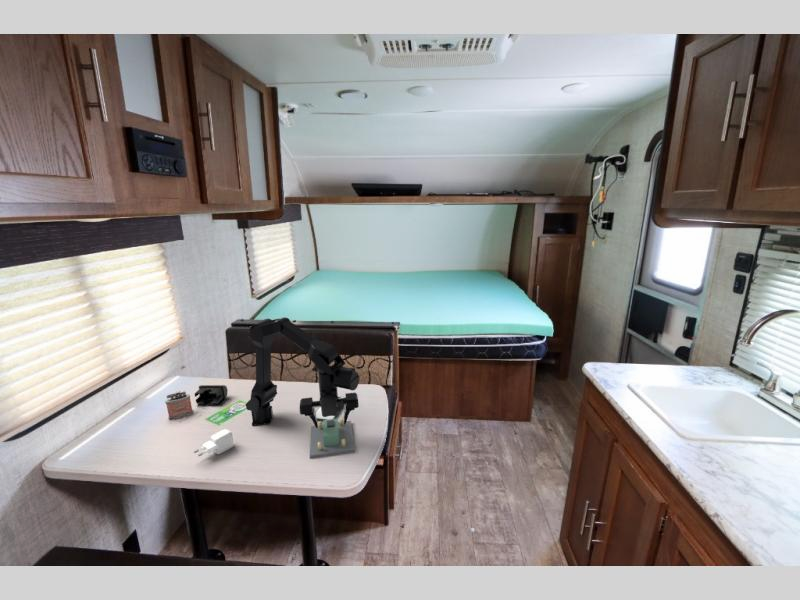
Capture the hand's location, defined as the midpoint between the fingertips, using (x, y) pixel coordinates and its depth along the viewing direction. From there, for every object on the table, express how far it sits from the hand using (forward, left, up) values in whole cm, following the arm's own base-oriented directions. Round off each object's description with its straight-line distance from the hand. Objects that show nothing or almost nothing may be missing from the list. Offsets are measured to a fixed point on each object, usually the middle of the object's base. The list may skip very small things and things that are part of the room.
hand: (331, 425), depth 123 cm
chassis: (0, 0, -6) cm, 6 cm away
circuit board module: (0, 0, -4) cm, 5 cm away
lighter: (-56, +27, -6) cm, 63 cm away
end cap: (-47, +35, -6) cm, 59 cm away
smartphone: (0, +19, -6) cm, 20 cm away
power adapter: (-37, +1, -6) cm, 38 cm away
